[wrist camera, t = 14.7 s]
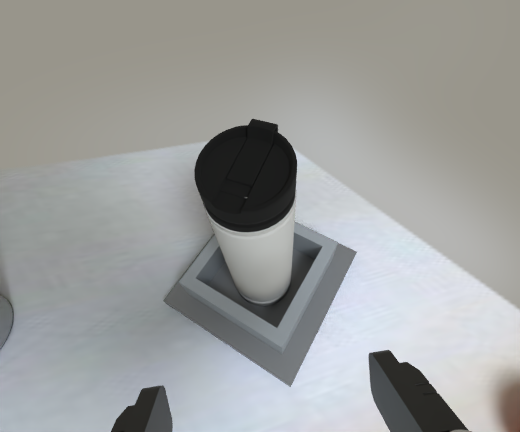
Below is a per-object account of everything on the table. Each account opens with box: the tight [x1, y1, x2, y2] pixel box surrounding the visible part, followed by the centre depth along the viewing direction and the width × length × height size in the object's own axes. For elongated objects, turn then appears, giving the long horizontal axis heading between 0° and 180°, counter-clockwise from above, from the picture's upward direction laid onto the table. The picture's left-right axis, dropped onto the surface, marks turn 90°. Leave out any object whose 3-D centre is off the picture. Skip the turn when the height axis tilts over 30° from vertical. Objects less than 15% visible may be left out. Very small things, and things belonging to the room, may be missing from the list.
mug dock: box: [164, 222, 357, 387], centre depth 34 cm, size 16×16×5 cm
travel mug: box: [195, 119, 297, 306], centre depth 26 cm, size 6×7×20 cm
